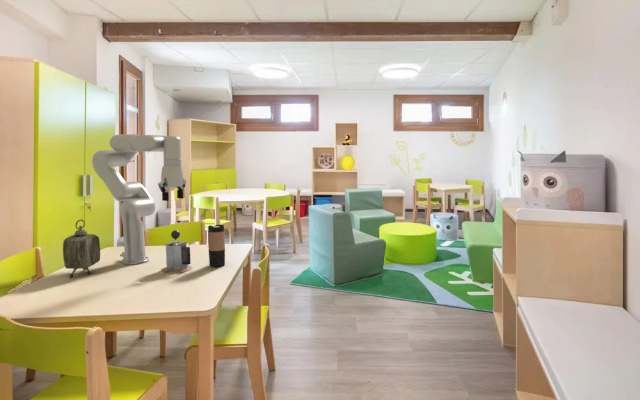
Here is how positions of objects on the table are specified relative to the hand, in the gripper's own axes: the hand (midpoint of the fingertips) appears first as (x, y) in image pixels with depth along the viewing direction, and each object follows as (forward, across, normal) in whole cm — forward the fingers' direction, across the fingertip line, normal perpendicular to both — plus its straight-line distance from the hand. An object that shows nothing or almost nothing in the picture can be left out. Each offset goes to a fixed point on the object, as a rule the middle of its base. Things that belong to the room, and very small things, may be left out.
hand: (172, 199), depth 194 cm
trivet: (+33, +4, +5) cm, 33 cm away
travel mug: (+32, -9, +18) cm, 38 cm away
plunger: (+29, +4, +5) cm, 30 cm away
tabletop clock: (+34, +24, -30) cm, 51 cm away
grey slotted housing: (+32, +3, +6) cm, 33 cm away
